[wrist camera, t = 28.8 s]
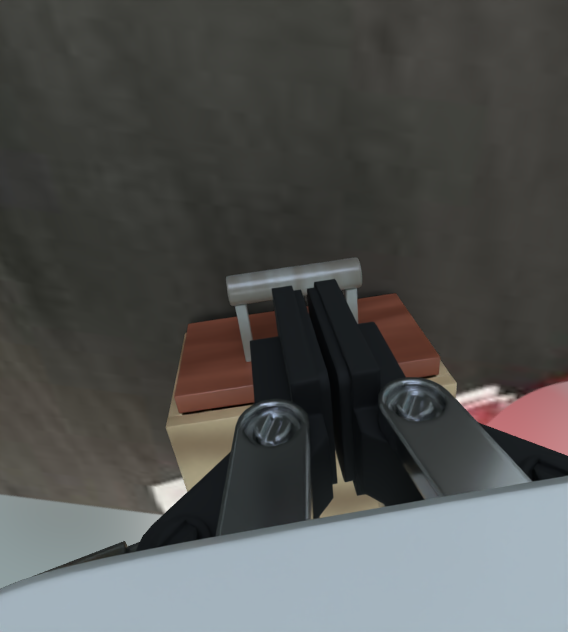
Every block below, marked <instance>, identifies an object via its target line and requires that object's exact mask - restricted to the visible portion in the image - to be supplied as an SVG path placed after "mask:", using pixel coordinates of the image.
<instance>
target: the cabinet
mask: <svg viewBox="0 0 568 632" xmlns="http://www.w3.org/2000/svg"><path fill="white" fill-rule="evenodd" d="M186 334H187V333H185V336H184V341H183V346H182V351H181V356H180V361H179V366H178V371H177V376H176V381H175V386H174V391H173V396H172V401H171V406H170V411H169V416H168V419H167V424H166V429H167V432H168V435H169V438H170V441H171V444H172V447H173V450H174V453H175V456H176V459H177V462H178V465H179V468H180V471H181V474H182V477H183V480H184V483H185V486H186V489H187V492H188V491H189V490H190V489H191V488H192V487H193V486H194V485H196V484H197V483H198V482H199V481H200V480H201V479H202V478H203V477H204V476H205V475H206V474H207V473H208V472H209V471H210V470H212V469H213V468H214V467H215V466H216V465H217V464H218V463H219V462H220V461H221V460H222V459H223V458H224V457H225V456H226V455H228V454H229V453H230V452H231V447H232V442H233V436H234V431H235V426H236V423H237V420H238V418H239V417H240V415H241V414H242V413H243V412H244V411H245V410H246V409H247V408H249V407H250V406H252V405H247V406H241V407H234V408H227V409H221V410H214V411H207V412H201V413H199V411H193V412H187V413H179V412H178V409H177V405H176V402H175V399H174V395H175V390H176V385H177V380H178V374H179V369H180V364H181V359H182V354H183V349H184V344H185V339H186ZM419 378H424V379H428V380H431V381H434V382H436V383H438V384H440V385H442V386H443V387H444V388H445V389H447V390H448V391H449V392H450V393H451V394H452V395H453V396H454V398H456V387H457V383H456V382H455V380H454V379H453V377H452V376H451V375H450V373H449V372H448V370H447V369H446V368H445V366H444V365H443V363H442V362H441V360H440V368H439V374H438V375H432V376H425V377H419ZM335 454H336V451H335ZM336 468H337V482H338V483H337V484H333V496H334V498H333V499H332V501H331V502H330V503H329V505H328V506H327V507H326V509H325V510H324V511H323V513H322V514H321V515H320V518H323V517H329V516H335V515H340V514H346V513H352V512H358V511H363V510H369V509H375V508H379V501H377V500H375V499H374V498H372V497H370V496H368V495H366V494H365V495H359V496H357V494H356V491H355V487H354V484H353V481H350V482H344V480H343V476H342V473H341V469H340V465H339V462H338V458H337V455H336Z"/></svg>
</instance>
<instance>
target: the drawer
mask: <svg viewBox="0 0 568 632" xmlns="http://www.w3.org/2000/svg"><path fill="white" fill-rule="evenodd" d="M330 279H335V280H336V281H337V283H338V285H339V287H340V289H341V290H344V294H345V299H346V302H347V304H348V306H349V308H350V310H351V312H352V314H353V316H354V318H355V320H356V322H357V324H360V323H366V322H375V324H376V325H377V327H378V328H379V330H380V332H381V334H382V336H383V337H384V339H385V341H386V343H387V344H388V346H389V348H390V350H391V351H392V353H393V355H394V357H395V359H396V360H397V362H398V364H399V366H400V367H401V369H402V371H403V373H404V375H405V376H406V377H425V376H432V375H438V374H439V368H440V356H439V355H438V353H437V352H436V350H435V349H434V348H433V346H432V345H431V343H430V342H429V340H428V339H427V337H426V336H425V335H424V333H423V332H422V330H421V329H420V327H419V326H418V325H417V323H416V322H415V320H414V319H413V317H412V316H411V314H410V313H409V312H408V310H407V309H406V307H405V306H404V304H403V303H402V302H401V300H400V299H399V297H398V296H397V294H396V293H394V294H388V295H381V296H374V297H367V298H360V299H357V288H358V287H361V285H362V270H361V265H360V262H359V260H358V258H356V257H354V258H348V259H341V260H334V261H327V262H320V263H313V264H306V265H299V266H292V267H285V268H279V269H272V270H265V271H258V272H251V273H244V274H237V275H230V276H227V277H226V285H227V293H228V298H229V302H230V304H231V306H235V309H236V314H237V317H231V318H224V319H217V320H211V321H204V322H197V323H190V324H188V329H187V334H186V339H185V344H184V349H183V354H182V359H181V364H180V369H179V374H178V380H177V385H176V390H175V395H174V399H175V402H176V405H177V409H178V412H179V413H187V412H193V411H199V413H201V412H207V411H214V410H221V409H227V408H234V407H241V406H247V405H253V404H255V402H254V390H253V377H252V365H251V353H250V341H251V340H257V339H264V338H270V337H276V336H278V332H277V325H276V318H275V311H272V312H265V313H258V314H251V315H249V314H248V309H247V304H248V303H255V302H262V301H269V300H273V297H272V289H271V288H277V287H284V286H291V285H292V287H293V290H300V289H301V291H302V294H303V295H307V288H314V282H317V281H324V280H330ZM306 307H307V310H308V313H309V309H308V306H306Z"/></svg>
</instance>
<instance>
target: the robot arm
mask: <svg viewBox="0 0 568 632" xmlns="http://www.w3.org/2000/svg"><path fill="white" fill-rule="evenodd" d="M271 289H272V297H273V304H274V311H275V318H276V325H277V332H278V336H276V337H270V338H264V339H257V340H251V341H250V353H251V365H252V377H253V390H254V402H255V404H253V405H252V406H250V407H249V408H247V409H246V410H245V411H244V412H243V413H242V414H241V415H240V417H239V418H238V420H237V423H236V426H235V431H234V436H233V442H232V447H231V452H230V453H229V454H228V455H226V456H225V457H224V458H223V459H222V460H221V461H220V462H219V463H218V464H217V465H216V466H215V467H214V468H213V469H212V470H210V471H209V472H208V473H207V474H206V475H205V476H204V477H203V478H202V479H201V480H200V481H199V482H198V483H197V484H196V485H194V486H193V487H192V488H191V489H190V490H189V491H188V492H187V493H186V494H185V495H184V496H183V497H182V498H181V499H180V500H178V501H177V502H176V503H175V504H174V505H173V506H172V507H171V508H170V509H169V510H168V511H167V512H166V513H165V514H164V515H163V516H161V517H160V518H159V519H158V520H157V521H156V522H155V523H154V524H153V525H152V526H151V527H150V528H149V530H148V531H147V532H146V533H145V534H144V535H143V537H142V539H141V541H140V542H138V543H136V544H133V545H130V546H127V544H126V542H125V541H123V542H121V543H118V544H115V545H113V546H110V547H108V548H105V549H102V550H100V551H98V552H95V553H92V554H89V555H87V556H84V557H82V558H79V559H76V560H74V561H71V562H69V563H66V564H63V565H61V566H58V567H56V568H53V569H50V570H48V571H45V572H43V573H40V574H38V575H35V576H32V577H30V578H27V579H23V580H20V581H18V582H15V583H13V584H10V585H8V586H5V587H3V588H1V589H0V632H568V456H566V455H564V454H561V453H558V452H556V451H553V450H551V449H548V448H545V447H543V446H540V445H537V444H535V443H532V442H529V441H526V440H524V439H521V438H518V437H516V436H513V435H510V434H508V433H505V432H502V431H499V430H497V429H494V428H491V427H489V426H486V425H483V424H481V423H478V422H477V421H476V420H475V419H474V418H473V417H472V416H471V415H470V414H469V413H468V412H467V410H466V409H465V408H464V407H463V406H462V405H461V404H460V403H459V402H458V401H457V400H456V399H455V398H454V396H453V395H452V394H451V393H450V392H449V391H448V390H447V389H445V388H444V387H443V386H442V385H440V384H438V383H436V382H434V381H431V380H428V379H424V378H419V377H406V376H405V375H404V373H403V371H402V369H401V367H400V366H399V364H398V362H397V360H396V359H395V357H394V355H393V353H392V351H391V350H390V348H389V346H388V344H387V343H386V341H385V339H384V337H383V336H382V334H381V332H380V330H379V328H378V327H377V325H376V324H375V322H366V323H360V324H357V322H356V320H355V318H354V316H353V314H352V312H351V310H350V308H349V306H348V304H347V302H346V299H345V297H344V295H343V293H342V291H341V289H340V287H339V285H338V283H337V281H336V280H335V279H330V280H324V281H317V282H314V288H307V299H308V309H309V313H308V310H307V307H306V304H305V301H304V297H303V294H302V291H301V289H300V290H293V287H292V285H291V286H284V287H277V288H271ZM335 451H336V454H335ZM336 455H337V458H338V462H339V465H340V469H341V473H342V476H343V480H344V482H350V481H353V484H354V487H355V491H356V494H357V496H359V495H365V494H366V495H368V496H370V497H372V498H374V499H375V500H377V501H379V508H375V509H369V510H363V511H358V512H352V513H346V514H340V515H335V516H329V517H323V518H320V515H321V514H322V513H323V511H324V510H325V509H326V507H327V506H328V505H329V503H330V502H331V501H332V499H333V498H334V496H333V484H337V483H338V482H337V468H336Z"/></svg>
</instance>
